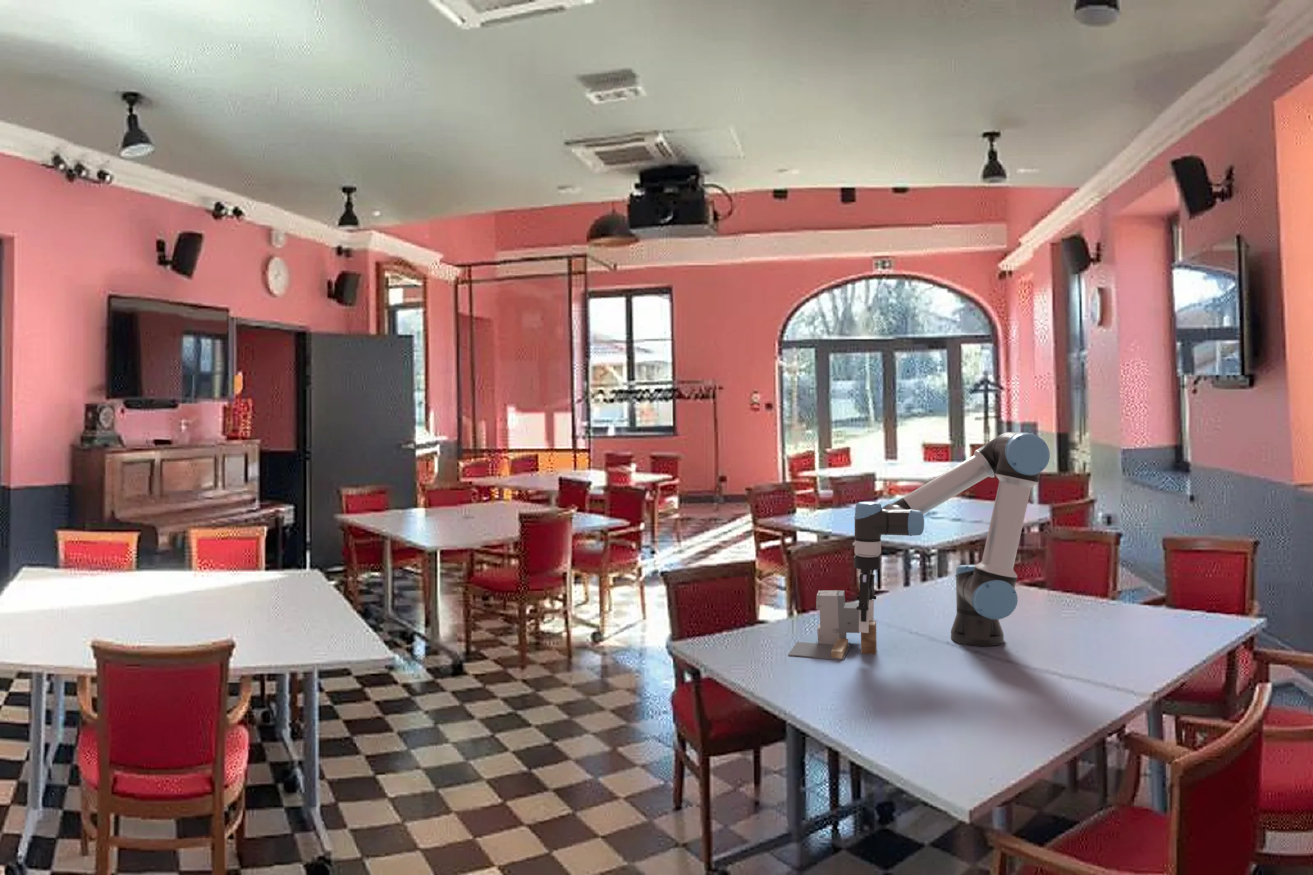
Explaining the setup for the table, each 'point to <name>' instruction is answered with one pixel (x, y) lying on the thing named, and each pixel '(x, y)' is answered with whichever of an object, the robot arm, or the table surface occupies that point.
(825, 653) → the mat
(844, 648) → the ledge
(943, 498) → the robot arm
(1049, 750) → the table surface
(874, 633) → the block
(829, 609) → the circuit breaker
